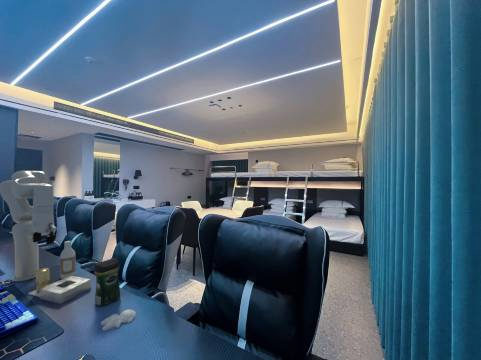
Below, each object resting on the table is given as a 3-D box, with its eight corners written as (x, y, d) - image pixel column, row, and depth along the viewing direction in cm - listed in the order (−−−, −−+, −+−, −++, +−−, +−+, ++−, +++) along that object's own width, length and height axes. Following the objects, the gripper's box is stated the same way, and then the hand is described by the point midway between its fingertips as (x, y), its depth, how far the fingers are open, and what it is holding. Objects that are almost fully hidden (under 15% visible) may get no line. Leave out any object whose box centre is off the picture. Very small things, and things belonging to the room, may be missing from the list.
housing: (39, 298, 99) (39, 289, 99) (71, 284, 112) (70, 275, 112) (60, 303, 95) (60, 293, 95) (90, 288, 108) (90, 279, 108)
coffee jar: (114, 293, 104) (114, 255, 103) (122, 298, 99) (122, 258, 99) (91, 302, 96) (91, 262, 95) (99, 308, 91) (99, 266, 91)
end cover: (33, 292, 104) (33, 272, 104) (45, 286, 109) (45, 267, 108) (41, 293, 103) (40, 273, 102) (52, 288, 107) (52, 268, 107)
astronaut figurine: (100, 321, 84) (100, 313, 84) (133, 310, 91) (133, 303, 91) (101, 334, 77) (101, 326, 77) (138, 321, 84) (137, 313, 84)
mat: (28, 294, 103) (28, 293, 103) (47, 285, 111) (47, 285, 111) (39, 296, 101) (39, 295, 101) (57, 288, 108) (57, 287, 108)
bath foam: (59, 280, 117) (58, 244, 116) (61, 275, 122) (60, 241, 122) (75, 277, 120) (74, 242, 120) (76, 272, 126) (75, 239, 126)
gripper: (23, 208, 106) (23, 242, 106) (46, 211, 100) (46, 247, 101) (41, 206, 113) (41, 238, 113) (63, 209, 108) (63, 242, 108)
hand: (43, 242), depth 107 cm, fingers open, 9 cm apart
